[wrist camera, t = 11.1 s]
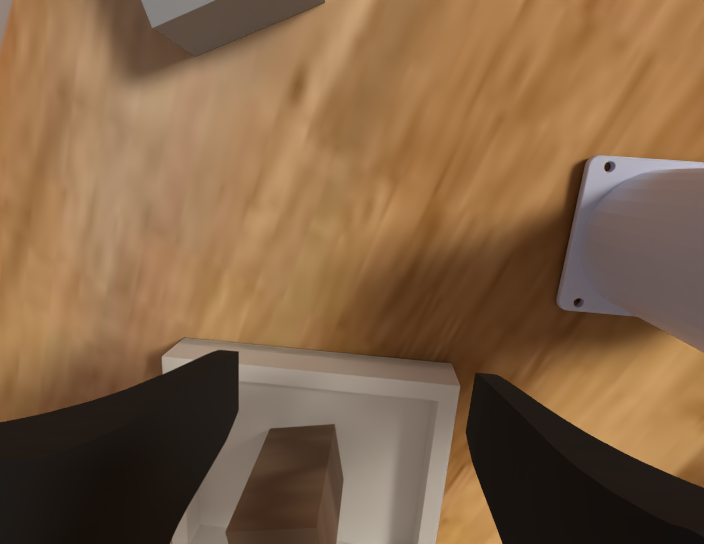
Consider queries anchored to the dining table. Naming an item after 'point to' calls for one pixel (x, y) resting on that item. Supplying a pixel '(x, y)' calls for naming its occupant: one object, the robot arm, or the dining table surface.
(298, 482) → the walnut block
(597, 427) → the dining table surface
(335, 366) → the tray
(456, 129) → the dining table surface
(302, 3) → the slate block
